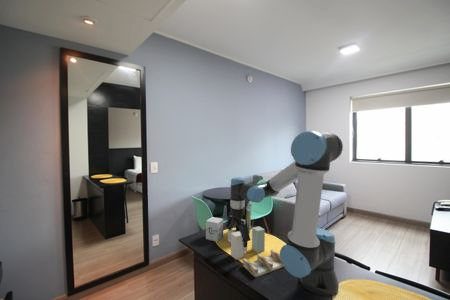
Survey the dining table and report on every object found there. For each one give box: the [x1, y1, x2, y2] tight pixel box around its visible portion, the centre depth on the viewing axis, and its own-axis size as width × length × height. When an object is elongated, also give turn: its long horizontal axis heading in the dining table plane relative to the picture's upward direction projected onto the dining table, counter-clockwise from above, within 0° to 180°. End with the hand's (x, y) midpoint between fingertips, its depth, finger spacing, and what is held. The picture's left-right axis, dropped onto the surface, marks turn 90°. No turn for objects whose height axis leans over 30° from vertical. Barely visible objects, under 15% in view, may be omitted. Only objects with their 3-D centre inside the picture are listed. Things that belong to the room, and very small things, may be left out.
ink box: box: [205, 216, 224, 243], centre depth 131 cm, size 8×8×12 cm
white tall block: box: [230, 231, 245, 260], centre depth 110 cm, size 5×5×12 cm
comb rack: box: [242, 249, 285, 278], centre depth 101 cm, size 10×19×4 cm, turn 119°
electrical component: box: [235, 200, 253, 234], centre depth 136 cm, size 18×10×20 cm, turn 168°
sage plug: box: [251, 226, 266, 254], centre depth 117 cm, size 5×5×12 cm
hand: (236, 246), depth 110 cm, fingers open, 13 cm apart
